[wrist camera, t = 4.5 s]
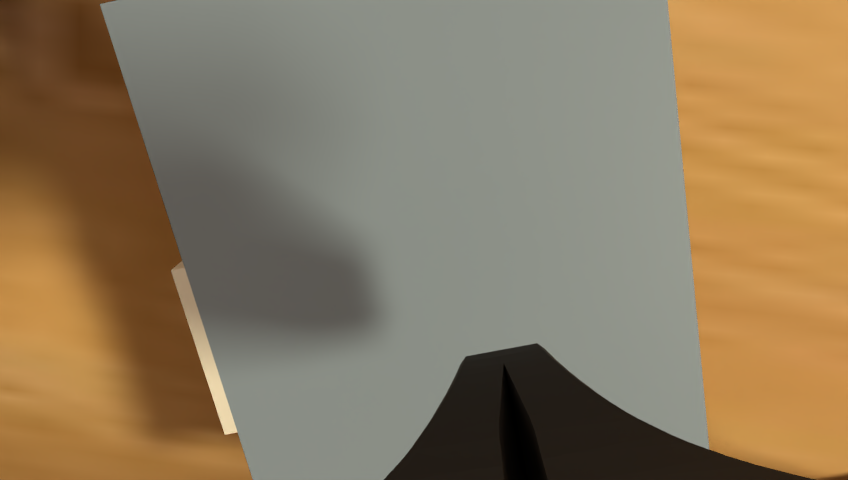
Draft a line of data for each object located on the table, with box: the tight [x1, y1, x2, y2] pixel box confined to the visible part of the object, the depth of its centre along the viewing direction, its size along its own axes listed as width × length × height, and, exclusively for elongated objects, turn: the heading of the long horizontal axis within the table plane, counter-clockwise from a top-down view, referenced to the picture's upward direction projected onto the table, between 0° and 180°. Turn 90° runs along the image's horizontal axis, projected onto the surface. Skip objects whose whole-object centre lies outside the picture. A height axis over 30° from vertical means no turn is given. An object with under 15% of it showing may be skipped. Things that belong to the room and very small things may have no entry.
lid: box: [100, 0, 709, 480], centre depth 16 cm, size 15×11×3 cm
